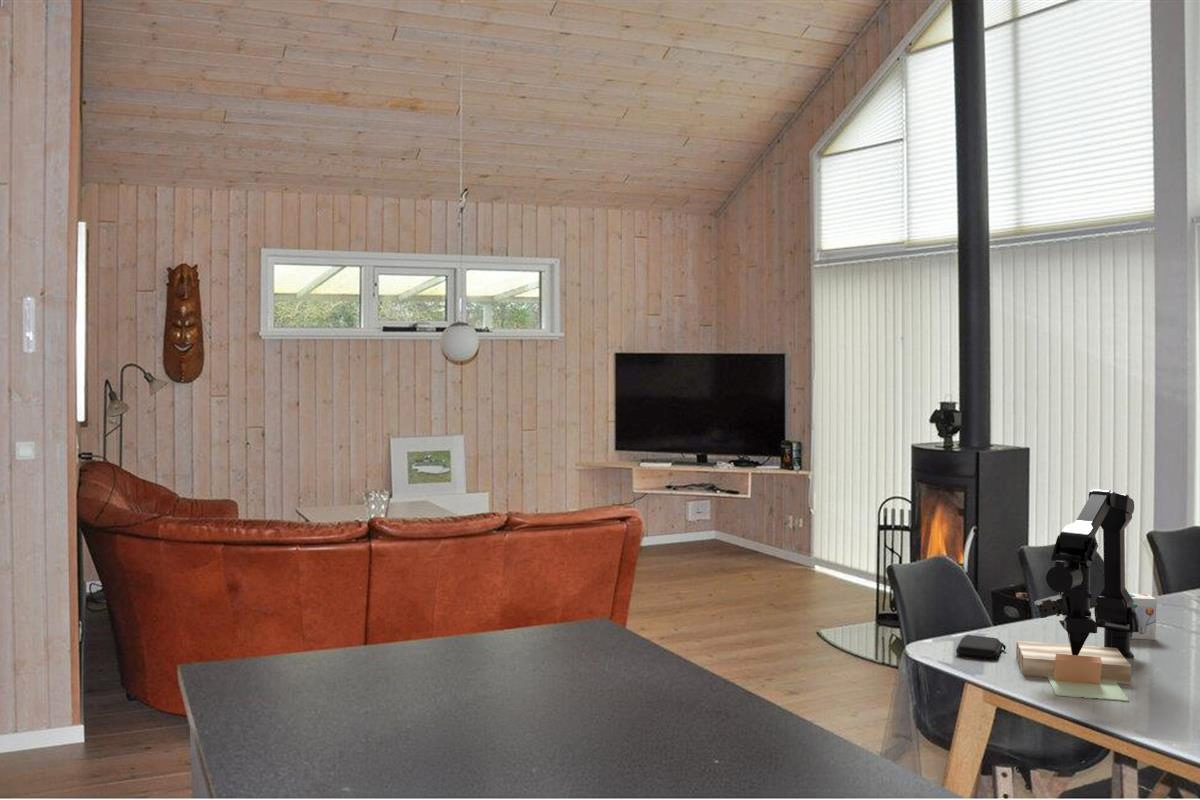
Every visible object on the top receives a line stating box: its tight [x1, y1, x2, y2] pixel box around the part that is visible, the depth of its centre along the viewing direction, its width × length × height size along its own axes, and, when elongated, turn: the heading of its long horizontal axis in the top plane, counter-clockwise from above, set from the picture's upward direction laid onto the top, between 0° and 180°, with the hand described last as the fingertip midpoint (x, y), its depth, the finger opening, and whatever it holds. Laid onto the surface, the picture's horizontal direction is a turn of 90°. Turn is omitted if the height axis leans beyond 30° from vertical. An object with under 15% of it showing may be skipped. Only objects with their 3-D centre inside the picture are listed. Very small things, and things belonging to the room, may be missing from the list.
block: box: [1054, 654, 1102, 684], centre depth 225 cm, size 6×9×2 cm
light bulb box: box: [1128, 592, 1158, 640], centre depth 269 cm, size 11×7×11 cm, turn 80°
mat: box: [1046, 676, 1130, 703], centre depth 222 cm, size 14×14×1 cm
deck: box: [1015, 640, 1132, 685], centre depth 236 cm, size 16×22×4 cm
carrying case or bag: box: [955, 634, 1007, 661], centre depth 252 cm, size 11×3×15 cm
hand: (1074, 655), depth 230 cm, fingers closed
